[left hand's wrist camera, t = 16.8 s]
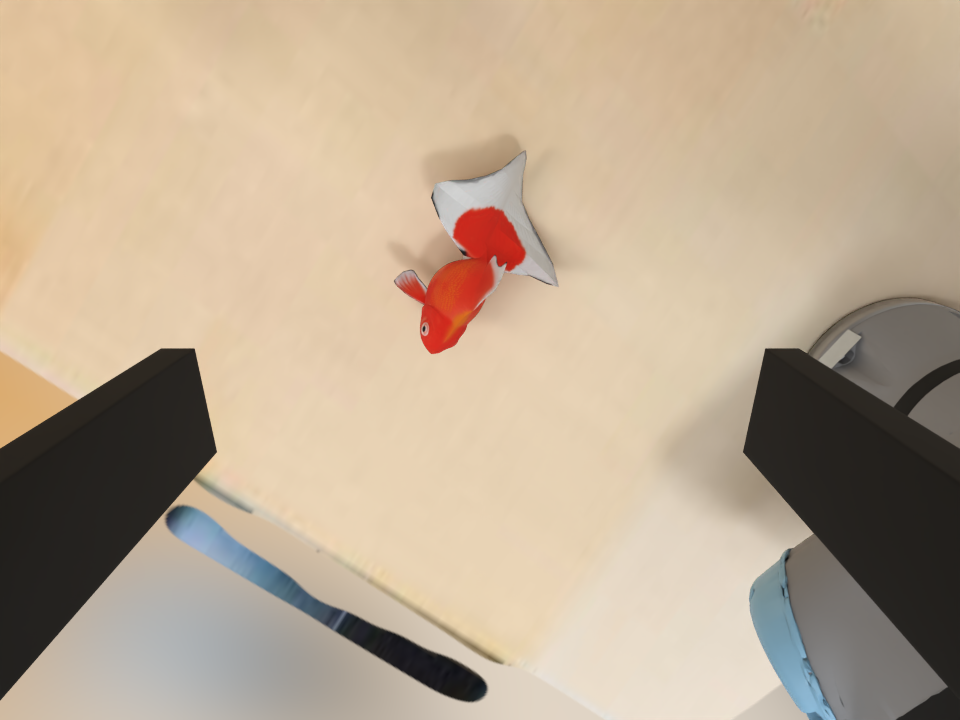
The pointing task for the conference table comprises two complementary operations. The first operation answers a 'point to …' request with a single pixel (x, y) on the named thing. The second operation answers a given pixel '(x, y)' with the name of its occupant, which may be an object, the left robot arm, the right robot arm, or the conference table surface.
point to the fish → (477, 251)
